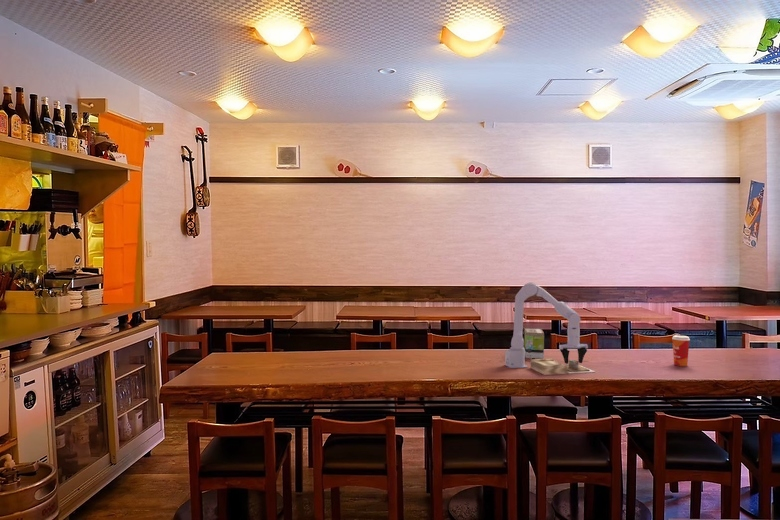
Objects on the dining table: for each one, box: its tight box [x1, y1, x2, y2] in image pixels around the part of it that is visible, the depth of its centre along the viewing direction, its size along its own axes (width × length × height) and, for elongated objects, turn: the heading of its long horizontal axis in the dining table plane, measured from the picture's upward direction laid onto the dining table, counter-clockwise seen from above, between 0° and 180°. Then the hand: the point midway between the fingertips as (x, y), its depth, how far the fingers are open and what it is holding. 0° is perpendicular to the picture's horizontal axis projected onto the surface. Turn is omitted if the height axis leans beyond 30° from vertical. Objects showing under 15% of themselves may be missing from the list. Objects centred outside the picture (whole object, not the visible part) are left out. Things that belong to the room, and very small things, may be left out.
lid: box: [566, 359, 591, 372], centre depth 251 cm, size 11×11×4 cm
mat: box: [567, 364, 596, 374], centre depth 251 cm, size 14×14×1 cm
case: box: [530, 358, 568, 376], centre depth 249 cm, size 12×14×4 cm
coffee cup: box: [671, 334, 691, 367], centre depth 261 cm, size 8×8×15 cm
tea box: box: [523, 328, 545, 360], centre depth 284 cm, size 15×10×15 cm, turn 168°
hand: (573, 363), depth 251 cm, fingers open, 7 cm apart
